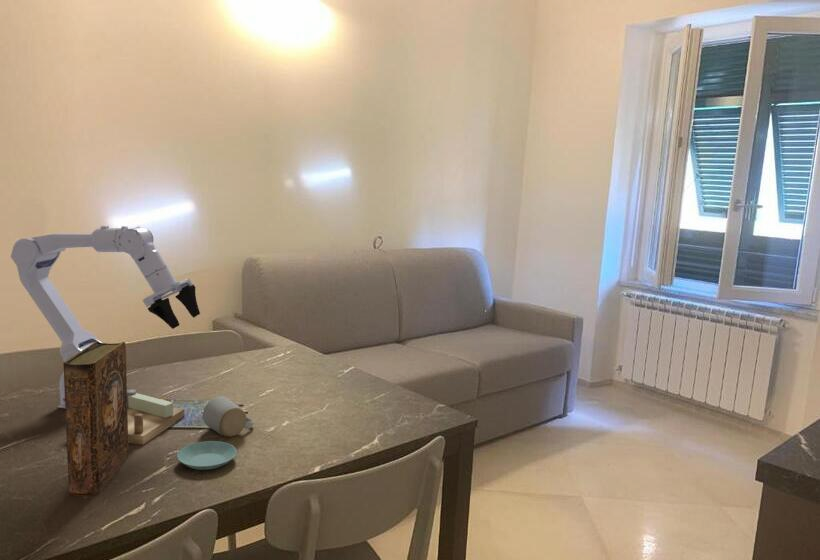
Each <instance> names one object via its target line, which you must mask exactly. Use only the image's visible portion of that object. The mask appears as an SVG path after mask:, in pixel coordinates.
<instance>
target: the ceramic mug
mask: <svg viewBox="0 0 820 560" xmlns="http://www.w3.org/2000/svg"><path fill="white" fill-rule="evenodd" d="M202 420H203V423H204V425H206V426H207V427H208V428H210V429H211V430H213V431H215V432H216V433H218V434H219V435H221V436H224V437H227V438H228V437H229V438H230V437H231V438H232V437H236V435H239V434H240V433H241V432H242V431H243V430H244V429H252V428H253V425H254V421H253V420H252V419H251V418H249V417H247V414H246V412H245V411H244V410H243V408H241V406H239V405H238V404H236V403H235V402H234V401H232V400H231V399H229V398H228V397H226V396H222V395H221V396H219V395H218V396H216V397H213V398H211V399H210V400H209V401H207V403H206V405H205V406H204V408H203V410H202Z"/></svg>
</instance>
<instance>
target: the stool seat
mask: <svg viewBox="0 0 820 560" xmlns="http://www.w3.org/2000/svg"><path fill="white" fill-rule="evenodd" d="M127 414H128V444H135V445H145V444H147V442H150V441H151V440H152V439H154V438H155V437H157V436H158V435H160V434H161V433H163V432H164V431H165V430H167V429H169V428H170V427H171V426H173V425H174V424H176V423H177V422H178V420H179V419H180V420H182V419H183V418H184V417H185V408H181V407H174V406H173V415H172V416H169V417H167V418H164V417H160V416H156V415H153V414H149V413H146V412H142V411H139V410H135V409H132V408H127ZM183 416H184V417H183ZM182 417H183V418H182ZM181 418H182V419H181ZM180 420H179V421H180ZM176 421H177V422H176ZM175 422H176V423H175ZM172 424H173V425H172Z"/></svg>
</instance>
